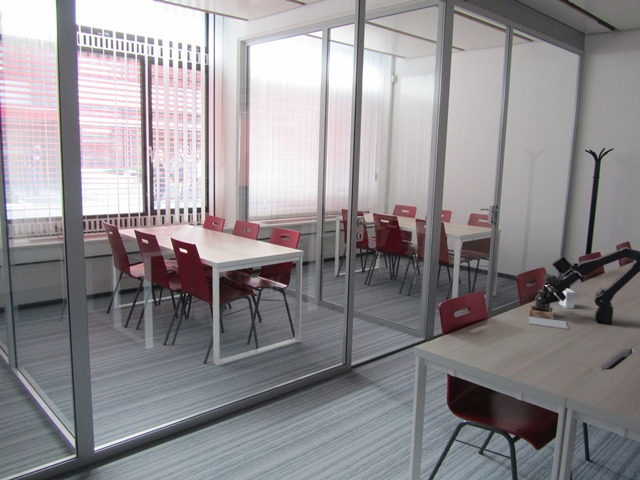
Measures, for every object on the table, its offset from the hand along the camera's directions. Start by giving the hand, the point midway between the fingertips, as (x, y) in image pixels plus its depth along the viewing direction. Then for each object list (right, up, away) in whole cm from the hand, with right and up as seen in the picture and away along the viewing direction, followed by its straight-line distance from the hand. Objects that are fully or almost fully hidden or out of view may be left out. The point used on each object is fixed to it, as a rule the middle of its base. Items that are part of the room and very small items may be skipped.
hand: (539, 301), depth 247 cm
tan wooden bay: (+1, -7, +1) cm, 7 cm away
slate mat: (-2, -9, -12) cm, 15 cm away
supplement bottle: (+1, -7, +1) cm, 7 cm away
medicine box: (+21, -5, +18) cm, 28 cm away
